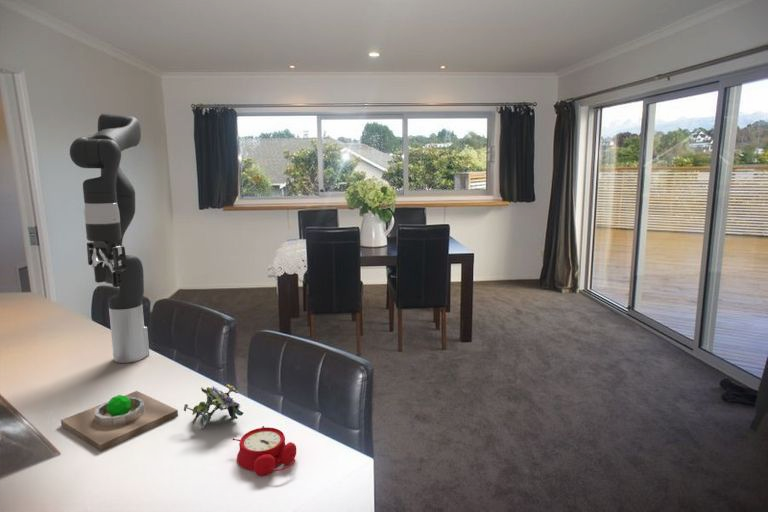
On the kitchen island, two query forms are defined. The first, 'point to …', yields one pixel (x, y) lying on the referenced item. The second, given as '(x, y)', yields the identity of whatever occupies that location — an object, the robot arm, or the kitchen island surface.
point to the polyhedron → (118, 405)
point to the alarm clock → (265, 450)
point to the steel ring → (120, 418)
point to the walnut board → (113, 435)
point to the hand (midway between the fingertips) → (108, 284)
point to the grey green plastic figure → (216, 404)
